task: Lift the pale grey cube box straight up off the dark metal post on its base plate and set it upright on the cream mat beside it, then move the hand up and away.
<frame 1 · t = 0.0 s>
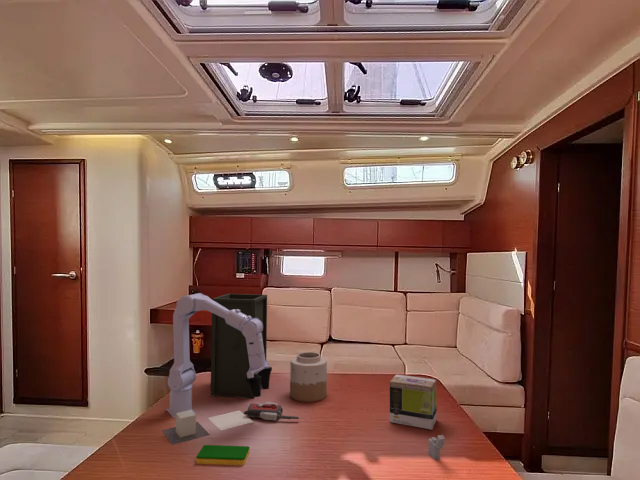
hand: (261, 392, 143), 11 cm above the table, tool pointing down, fingers open, 7 cm apart
pale grey cube box: (185, 432, 133), resting on post base
tea box: (413, 421, 145), on the table
vase: (308, 395, 170), on the table
lighter: (436, 459, 119), on the table
dish sponge: (223, 460, 119), on the table
post base: (185, 434, 133), on the table
dark green tall box: (239, 389, 176), on the table
chainsaw: (272, 417, 147), on the table, touching mat
mat: (230, 421, 143), on the table
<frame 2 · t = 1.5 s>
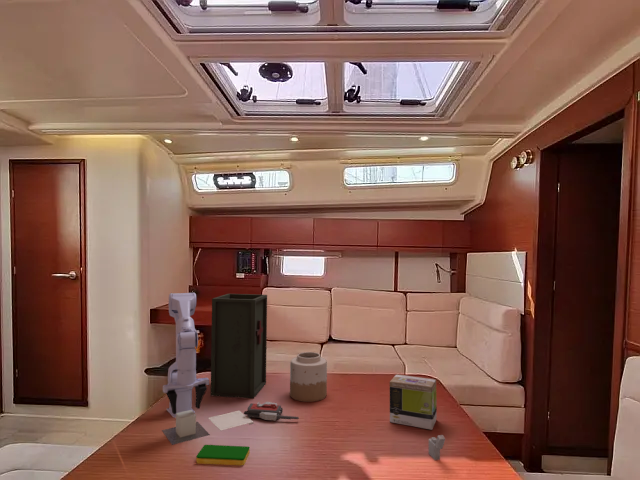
hand: (186, 410, 133), 8 cm above the table, tool pointing down, fingers open, 7 cm apart
nothing on the table moved.
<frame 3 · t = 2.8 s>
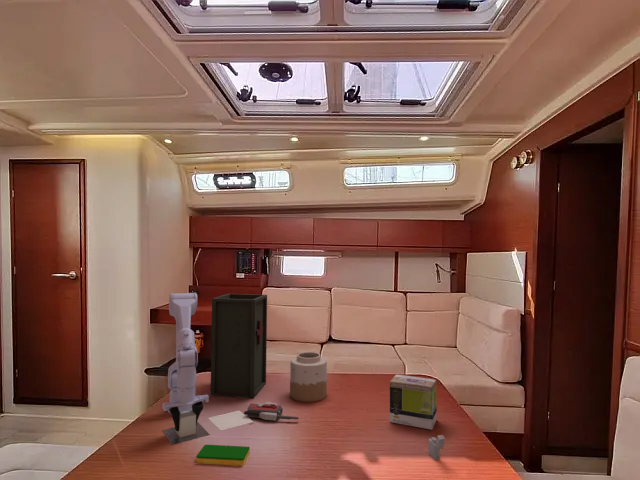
hand: (185, 427, 133), 2 cm above the table, tool pointing down, fingers closed on pale grey cube box, 5 cm apart
pale grey cube box: (185, 432, 133), resting on post base, touching gripper
everything else where it was.
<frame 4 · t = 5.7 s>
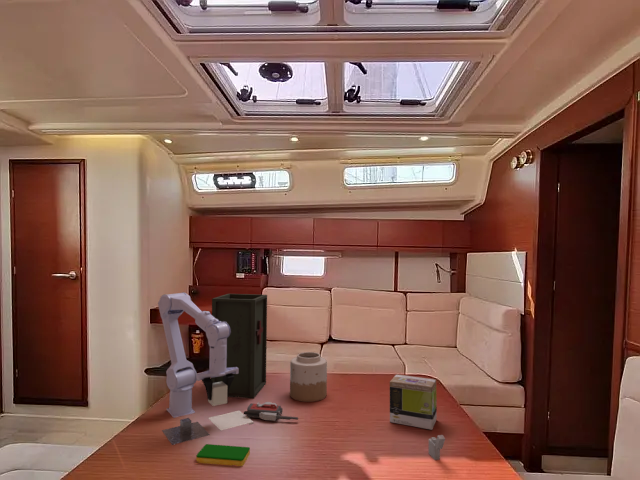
hand: (217, 397, 140), 9 cm above the table, tool pointing down, fingers closed on pale grey cube box, 5 cm apart
pale grey cube box: (217, 402, 140), point 8 cm above the table, touching gripper
everything else where it was.
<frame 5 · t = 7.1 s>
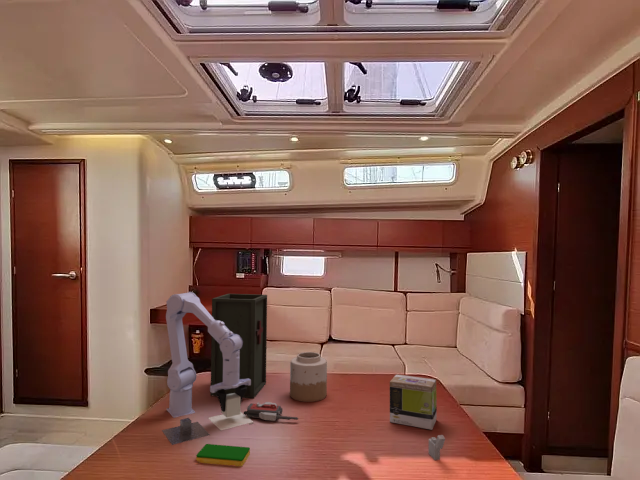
hand: (230, 408, 144), 4 cm above the table, tool pointing down, fingers closed on pale grey cube box, 5 cm apart
pale grey cube box: (230, 413, 143), point 3 cm above the table, touching gripper
everything else where it was.
when the fingers open (3 cm above the table, at t = 8.3 s): pale grey cube box stays where it is, resting on mat.
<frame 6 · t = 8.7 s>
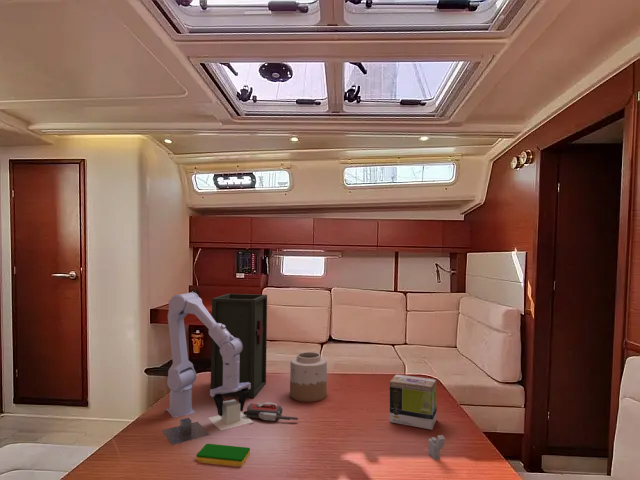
hand: (230, 412, 144), 3 cm above the table, tool pointing down, fingers open, 7 cm apart
pale grey cube box: (230, 420, 143), resting on mat
everything else where it was.
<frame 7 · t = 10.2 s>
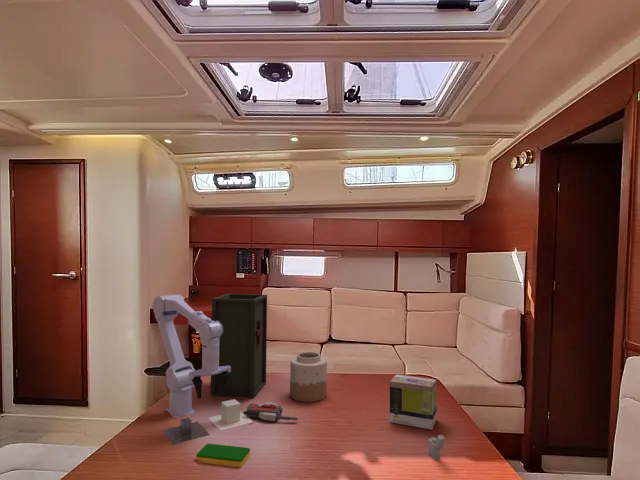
hand: (209, 395, 142), 9 cm above the table, tool pointing down, fingers open, 7 cm apart
nothing on the table moved.
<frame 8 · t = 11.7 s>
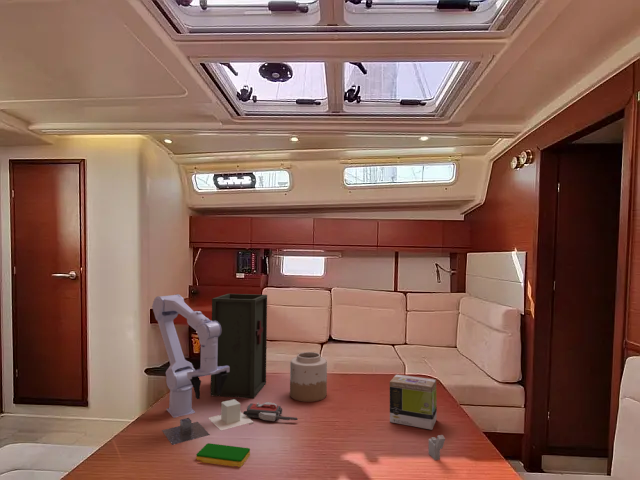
hand: (208, 395, 142), 9 cm above the table, tool pointing down, fingers open, 7 cm apart
nothing on the table moved.
at the end: pale grey cube box 0.1 cm off-centre on the mat, point 0.5 cm above the mat's base; pale grey cube box tilted 0°; the gripper is holding nothing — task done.
